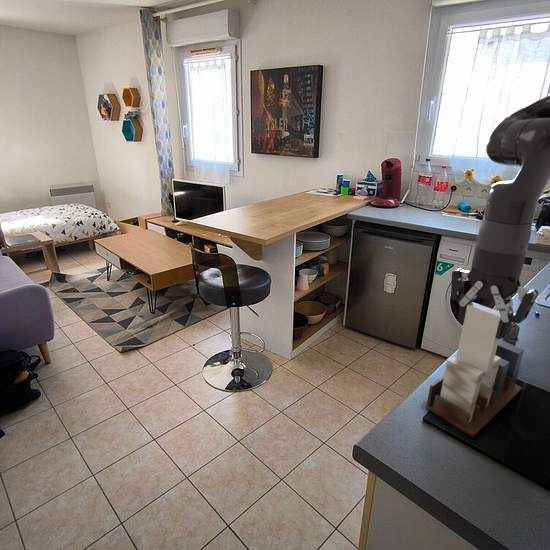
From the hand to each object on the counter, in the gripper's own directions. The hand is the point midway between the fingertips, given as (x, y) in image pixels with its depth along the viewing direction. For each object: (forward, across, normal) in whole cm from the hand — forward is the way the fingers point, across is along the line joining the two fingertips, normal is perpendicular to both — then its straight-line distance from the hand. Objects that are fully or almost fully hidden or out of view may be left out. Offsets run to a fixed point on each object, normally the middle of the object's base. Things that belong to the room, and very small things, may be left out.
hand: (481, 329), depth 68 cm
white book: (+8, 0, 0) cm, 8 cm away
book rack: (+19, 0, -5) cm, 20 cm away
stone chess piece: (+20, +2, -23) cm, 30 cm away
